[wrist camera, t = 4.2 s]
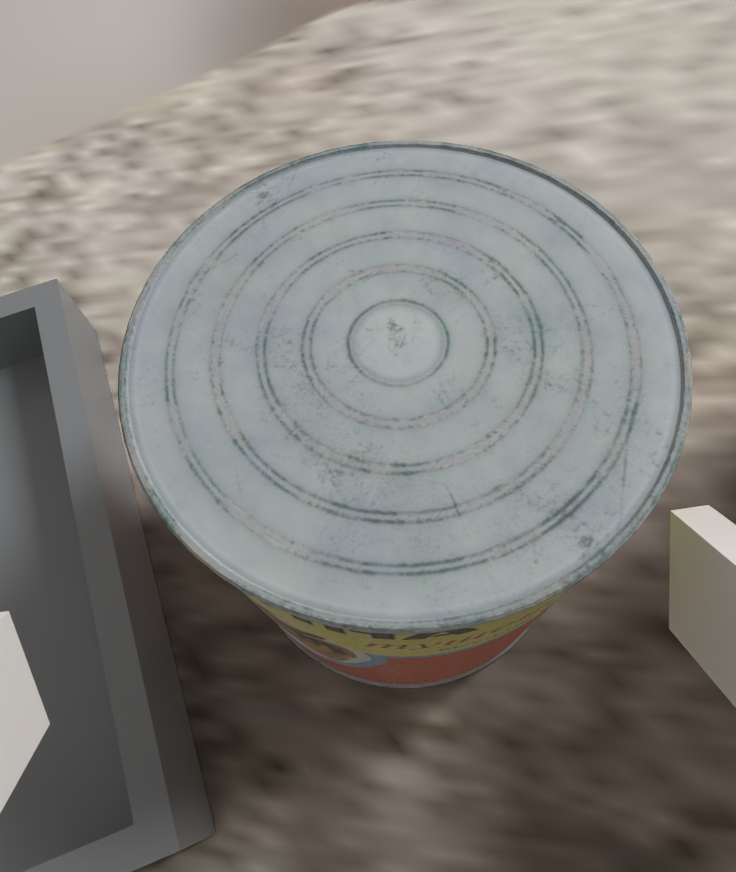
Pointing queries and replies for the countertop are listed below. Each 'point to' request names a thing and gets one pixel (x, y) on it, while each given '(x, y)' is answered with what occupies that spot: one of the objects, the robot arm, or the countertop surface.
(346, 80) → the countertop surface
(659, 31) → the countertop surface
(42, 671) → the tray
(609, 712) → the countertop surface
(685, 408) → the canned food
